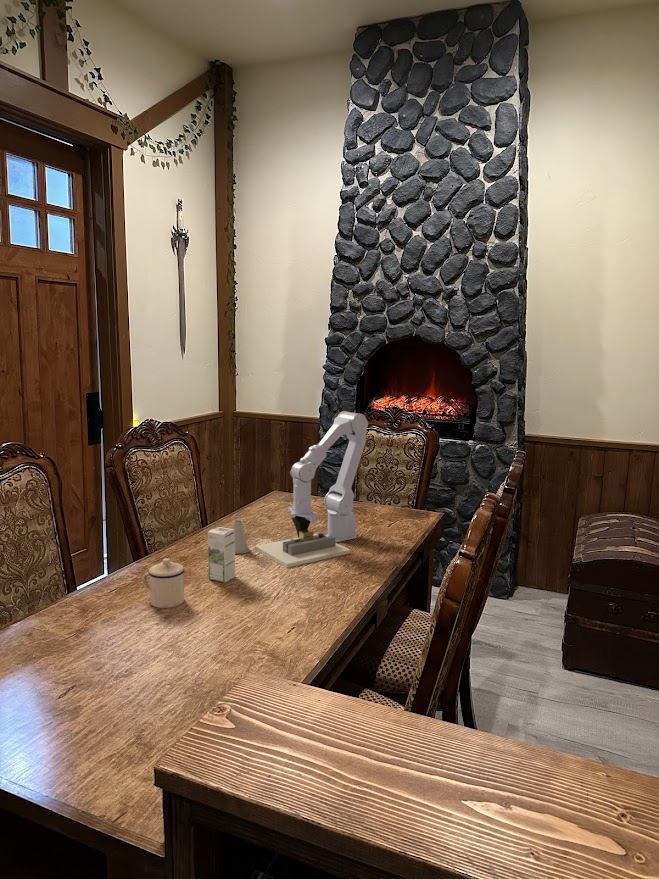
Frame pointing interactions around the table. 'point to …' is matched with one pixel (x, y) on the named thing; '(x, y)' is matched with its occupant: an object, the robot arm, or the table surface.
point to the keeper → (306, 533)
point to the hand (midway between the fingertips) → (301, 538)
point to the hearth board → (299, 558)
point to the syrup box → (221, 554)
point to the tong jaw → (285, 544)
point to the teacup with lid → (165, 584)
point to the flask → (239, 538)
